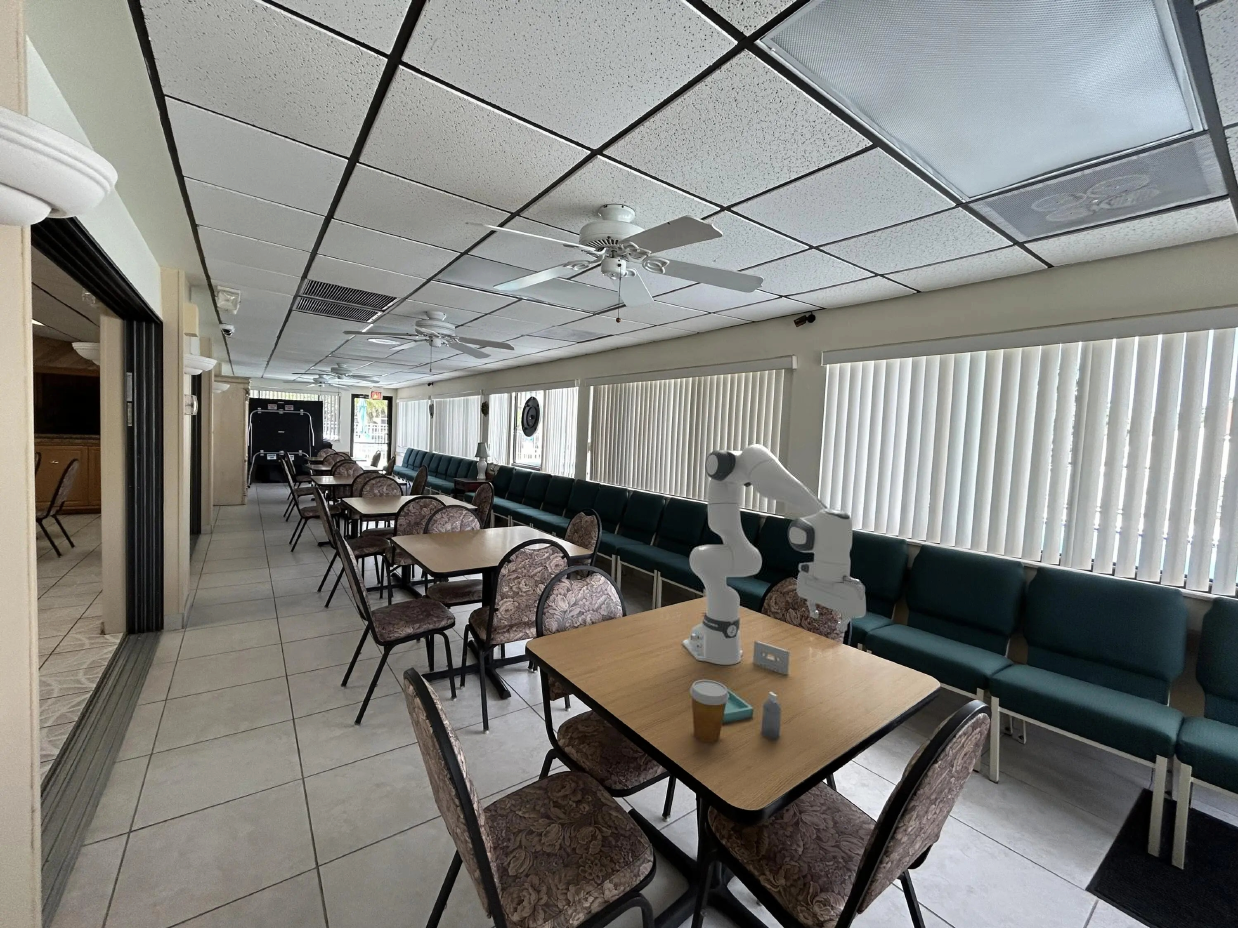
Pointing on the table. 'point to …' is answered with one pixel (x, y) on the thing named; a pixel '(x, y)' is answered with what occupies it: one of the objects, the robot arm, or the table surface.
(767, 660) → the cassette
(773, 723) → the gray bottle
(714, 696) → the disposable coffee cup
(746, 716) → the tray
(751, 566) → the robot arm
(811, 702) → the table surface
